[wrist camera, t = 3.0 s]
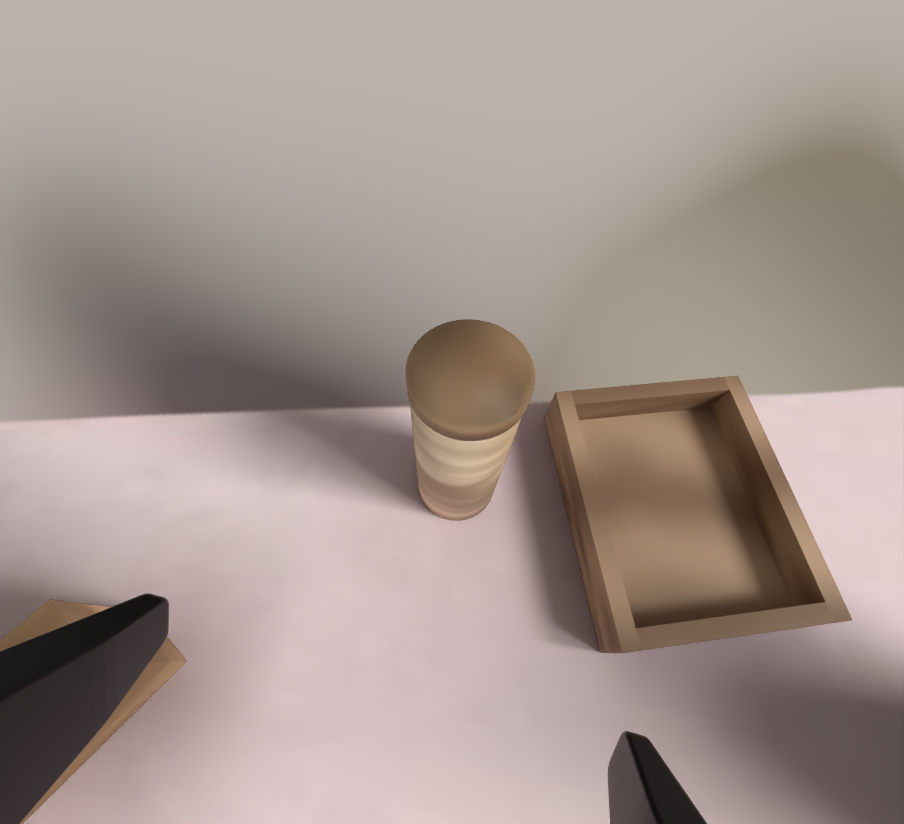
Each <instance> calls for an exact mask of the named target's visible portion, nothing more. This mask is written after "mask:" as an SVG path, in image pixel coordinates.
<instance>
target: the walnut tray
mask: <svg viewBox="0 0 904 824" xmlns="http://www.w3.org/2000/svg"><path fill="white" fill-rule="evenodd" d="M544 417H545V422H546V426H547V430H548V434H549V439H550V443H551V447H552V451H553V455H554V460H555V464H556V468H557V472H558V477H559V481H560V485H561V489H562V493H563V498H564V502H565V506H566V510H567V515H568V519H569V523H570V527H571V532H572V536H573V540H574V544H575V548H576V553H577V557H578V561H579V565H580V570H581V574H582V578H583V582H584V586H585V591H586V595H587V599H588V603H589V608H590V612H591V616H592V620H593V624H594V629H595V633H596V637H597V641H598V646H599V650H600V653H626V652H633V651H640V650H647V649H654V648H661V647H668V646H675V645H682V644H689V643H696V642H703V641H710V640H717V639H724V638H731V637H738V636H745V635H752V634H759V633H766V632H773V631H780V630H787V629H794V628H801V627H808V626H815V625H822V624H829V623H836V622H843V621H850V620H852V618H851V616H850V614H849V612H848V609H847V607H846V605H845V603H844V601H843V599H842V597H841V595H840V592H839V590H838V588H837V586H836V584H835V582H834V580H833V577H832V575H831V573H830V571H829V569H828V567H827V565H826V562H825V560H824V558H823V556H822V554H821V552H820V550H819V547H818V545H817V543H816V541H815V539H814V537H813V535H812V533H811V530H810V528H809V526H808V524H807V522H806V520H805V518H804V515H803V513H802V511H801V509H800V507H799V505H798V503H797V500H796V498H795V496H794V494H793V492H792V490H791V488H790V485H789V483H788V481H787V479H786V477H785V475H784V473H783V471H782V468H781V466H780V464H779V462H778V460H777V458H776V456H775V453H774V451H773V449H772V447H771V445H770V443H769V441H768V438H767V436H766V434H765V432H764V430H763V428H762V426H761V423H760V421H759V419H758V417H757V415H756V413H755V411H754V409H753V406H752V404H751V402H750V400H749V398H748V396H747V394H746V391H745V389H744V387H743V385H742V383H741V381H740V379H739V376H730V377H718V378H707V379H697V380H686V381H674V382H664V383H654V384H653V383H652V384H641V385H631V386H620V387H609V388H599V389H588V390H576V391H565V392H556V393H555V395H554V398H553V400H552V401H551V404H550V406H549V408H548V410H547V412H546V414H545V416H544Z"/></svg>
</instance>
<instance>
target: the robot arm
mask: <svg viewBox="0 0 904 824" xmlns="http://www.w3.org/2000/svg"><path fill="white" fill-rule="evenodd" d="M168 622H169V602H168V600H167V599H166V598H164V597H161V596H157V595H154V594H143V595H140V596H138V597H135V598H133V599H130V600H128V601H125V602H123V603H120V604H118V605H115V606H113V607H110V608H108V609H105V610H103V611H100V612H98V613H95V614H93V615H90V616H88V617H85V618H83V619H80V620H78V621H75V622H72V623H70V624H67V625H65V626H62V627H60V628H57V629H55V630H52V631H50V632H47V633H45V634H42V635H40V636H37V637H35V638H32V639H30V640H27V641H25V642H22V643H20V644H17V645H15V646H12V647H10V648H7V649H4V650H2V651H0V824H20V823H21V822H22V821H23V820H24V818H25V817H26V816H27V815H28V814H29V812H30V811H31V810H32V809H33V808H34V807H35V805H36V804H37V803H38V802H39V801H40V800H41V798H42V797H43V796H44V795H45V794H46V793H47V791H48V790H49V789H50V788H51V787H52V786H53V784H54V783H55V782H56V781H57V780H58V779H59V777H60V776H61V775H62V774H63V773H64V772H65V770H66V769H67V768H68V767H69V766H70V764H71V763H72V762H73V761H74V760H75V759H76V757H77V756H78V755H79V754H80V753H81V752H82V750H83V749H84V748H85V747H86V746H87V745H88V743H89V742H90V741H91V740H92V739H93V738H94V736H95V735H96V734H97V733H98V732H99V730H100V729H101V728H102V727H103V725H104V724H105V723H106V722H107V721H108V719H109V718H110V717H111V715H112V714H113V713H114V711H115V710H116V709H117V707H118V706H119V704H120V703H121V702H122V700H123V699H124V697H125V696H126V695H127V693H128V692H129V691H130V689H131V688H132V686H133V685H134V684H135V682H136V681H137V679H138V678H139V677H140V675H141V674H142V672H143V671H144V670H145V668H146V667H147V666H148V664H149V663H150V661H151V660H152V659H153V657H154V656H155V654H156V653H157V652H158V650H159V649H160V647H161V646H162V645H163V643H164V641H165V639H166V637H167V634H168ZM608 790H609V808H610V824H707V823H706V821H705V820H704V818H703V817H702V816H701V814H700V813H699V811H698V810H697V808H696V807H695V805H694V804H693V802H692V801H691V800H690V798H689V797H688V795H687V794H686V792H685V791H684V789H683V788H682V787H681V785H680V784H679V782H678V781H677V779H676V778H675V776H674V775H673V773H672V772H671V771H670V769H669V768H668V766H667V765H666V763H665V762H664V760H663V759H662V758H661V756H660V755H659V753H658V752H657V750H656V749H655V747H654V746H653V745H652V743H651V742H650V740H649V739H648V738H646V737H645V736H642V735H639V734H635V733H632V732H628V731H625V732H623V733H622V734H621V736H620V738H619V741H618V743H617V745H616V748H615V750H614V752H613V755H612V757H611V759H610V762H609V767H608Z"/></svg>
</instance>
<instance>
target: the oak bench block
mask: <svg viewBox="0 0 904 824" xmlns="http://www.w3.org/2000/svg"><path fill="white" fill-rule="evenodd" d="M108 608H110V607H105V606H98V605H90V604H82V603H74V602H67V601H59V600H51V599H50V600H49V601H48V602H46V603H45V604H44V605H43V606H42V607H40V608H39V609H38V610H37V611H36V612H34V613H33V614H32V615H31V616H30V617H28V618H27V619H26V620H25V621H24V622H22V623H21V624H20V625H19V626H18V627H16V628H15V629H14V630H13V631H12V632H10V633H9V634H8V635H7V636H6V637H4V638H3V639H2V640H1V641H0V651H2V650H4V649H7V648H10V647H12V646H15V645H17V644H20V643H22V642H25V641H27V640H30V639H32V638H35V637H37V636H40V635H42V634H45V633H47V632H50V631H52V630H55V629H57V628H60V627H62V626H65V625H67V624H70V623H72V622H75V621H78V620H80V619H83V618H85V617H88V616H90V615H93V614H95V613H98V612H100V611H103V610H105V609H108ZM185 662H186V660H185V658H184V657H183V656H182V655H181V653H180V652H179V651H178V650H177V648H176V647H175V646H174V645H173V643H172V642H171V641H170V640H169V638H168V637H166V639H165V641H164V643H163V645H162V646H161V647H160V649H159V650H158V652H157V653H156V654H155V656H154V657H153V659H152V660H151V661H150V663H149V664H148V666H147V667H146V668H145V670H144V671H143V672H142V674H141V675H140V677H139V678H138V679H137V681H136V682H135V684H134V685H133V686H132V688H131V689H130V691H129V692H128V693H127V695H126V696H125V697H124V699H123V700H122V702H121V703H120V704H119V706H118V707H117V709H116V710H115V711H114V713H113V714H112V715H111V717H110V718H109V719H108V721H107V722H106V723H105V724H104V725H103V727H102V728H101V729H100V730H99V732H98V733H97V734H96V735H95V736H94V738H93V739H92V740H91V741H90V742H89V743H88V745H87V746H86V747H85V748H84V749H83V750H82V752H81V753H80V754H79V755H78V756H77V757H76V759H75V760H74V761H73V762H72V763H71V764H70V766H69V767H68V768H67V769H66V770H65V772H64V773H63V774H62V775H61V776H60V777H59V779H58V780H57V781H56V782H55V783H54V784H53V786H52V787H51V788H50V789H49V790H48V791H47V793H46V794H45V795H44V796H43V797H42V798H41V800H40V801H39V802H38V803H37V804H36V805H35V807H34V808H33V809H32V810H31V811H30V812H29V814H28V815H27V816H26V817H25V818H24V820H23V821H22V822H21V823H20V824H23V823H24V822H25V821H26V820H27V819H28V818H29V817H30V816H31V815H32V814H33V813H34V812H35V811H36V810H37V809H38V808H39V807H40V806H41V805H42V804H43V803H44V802H45V801H46V800H47V799H48V798H49V797H50V796H51V795H52V794H53V793H54V792H55V791H56V790H57V789H58V788H59V787H60V786H61V785H62V784H63V783H64V782H65V781H66V780H67V779H68V778H69V777H70V776H71V775H72V774H73V773H74V772H75V771H76V770H77V769H78V768H79V767H80V766H81V765H82V764H83V763H84V762H85V761H86V760H87V759H88V758H89V757H90V756H91V755H92V754H93V753H94V752H95V751H96V750H97V749H98V748H99V747H100V746H101V745H102V744H103V743H104V742H105V741H106V740H107V739H108V738H109V737H110V736H111V735H112V734H113V733H114V732H115V731H116V730H117V729H118V728H119V727H120V726H121V725H122V724H123V723H124V722H126V721H127V720H128V719H129V718H130V717H131V716H132V715H133V714H134V713H135V712H136V711H137V710H138V709H139V708H140V707H141V706H142V705H143V704H144V703H145V702H146V701H147V700H148V699H149V698H150V697H151V696H152V695H153V694H154V693H155V692H156V691H157V690H158V689H159V688H160V687H161V686H162V685H163V684H164V683H165V682H166V681H167V680H168V679H169V678H170V677H171V676H172V675H173V674H174V673H175V672H176V671H177V670H178V669H179V668H180V667H181V666H182V665H183V664H184V663H185Z"/></svg>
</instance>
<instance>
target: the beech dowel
mask: <svg viewBox="0 0 904 824" xmlns="http://www.w3.org/2000/svg"><path fill="white" fill-rule="evenodd" d="M535 377H536V376H535V368H534V364H533V361H532V359H531V356H530V354H529V352H528V350H527V349H526V347H525V346H524V345H523V344H522V343H521V341H519V340H518V338H517V337H515V336H514V335H513V334H512V333H510V332H509V331H507V330H505V329H504V328H502V327H500V326H498V325H495V324H492V323H489V322H485V321H480V320H456V321H451V322H447V323H444V324H441V325H439V326H437V327H435V328H433V329H431V330H430V331H428V332H427V333H426V334H424V335H423V336H422V337H421V338H420V339H419V340H418V341H417V343H416V344H415V345H414V347H413V348H412V350H411V352H410V354H409V357H408V359H407V364H406V383H407V393H408V397H409V401H410V408H411V418H412V428H413V439H414V449H415V459H416V469H417V479H418V489H419V493H420V496H421V499H422V501H423V502H424V504H425V505H426V507H427V508H428V509H429V510H430V511H432V512H433V513H434V514H436V515H437V516H439V517H442V518H444V519H448V520H465V519H469V518H471V517H474V516H476V515H477V514H479V513H480V512H481V511H482V510H483V509H484V508H485V507H486V506H487V505H488V503H489V502H490V500H491V497H492V495H493V492H494V489H495V487H496V484H497V481H498V479H499V476H500V473H501V471H502V468H503V466H504V463H505V460H506V458H507V455H508V452H509V450H510V447H511V444H512V442H513V439H514V436H515V434H516V431H517V429H518V426H519V423H520V421H521V418H522V416H523V415H524V413H525V411H526V409H527V407H528V404H529V401H530V398H531V396H532V393H533V391H534V386H535Z"/></svg>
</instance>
